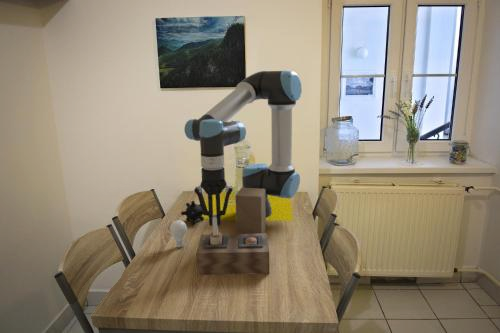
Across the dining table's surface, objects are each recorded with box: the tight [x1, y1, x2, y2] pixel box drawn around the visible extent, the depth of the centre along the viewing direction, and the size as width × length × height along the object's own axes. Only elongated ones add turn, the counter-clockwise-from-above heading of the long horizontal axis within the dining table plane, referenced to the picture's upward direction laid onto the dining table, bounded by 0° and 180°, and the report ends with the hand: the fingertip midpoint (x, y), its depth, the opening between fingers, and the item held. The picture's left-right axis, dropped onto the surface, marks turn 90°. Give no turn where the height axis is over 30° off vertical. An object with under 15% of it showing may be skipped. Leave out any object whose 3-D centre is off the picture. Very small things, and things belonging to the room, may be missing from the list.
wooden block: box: [235, 187, 267, 234], centre depth 146 cm, size 10×10×20 cm
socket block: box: [195, 232, 270, 276], centre depth 130 cm, size 24×14×9 cm, turn 90°
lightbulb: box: [169, 219, 188, 249], centre depth 142 cm, size 6×6×11 cm
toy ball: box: [180, 200, 205, 226], centre depth 166 cm, size 11×11×12 cm
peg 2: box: [245, 237, 257, 244], centre depth 130 cm, size 4×4×8 cm
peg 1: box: [209, 231, 223, 245], centre depth 129 cm, size 4×4×8 cm
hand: (215, 233), depth 128 cm, fingers closed
